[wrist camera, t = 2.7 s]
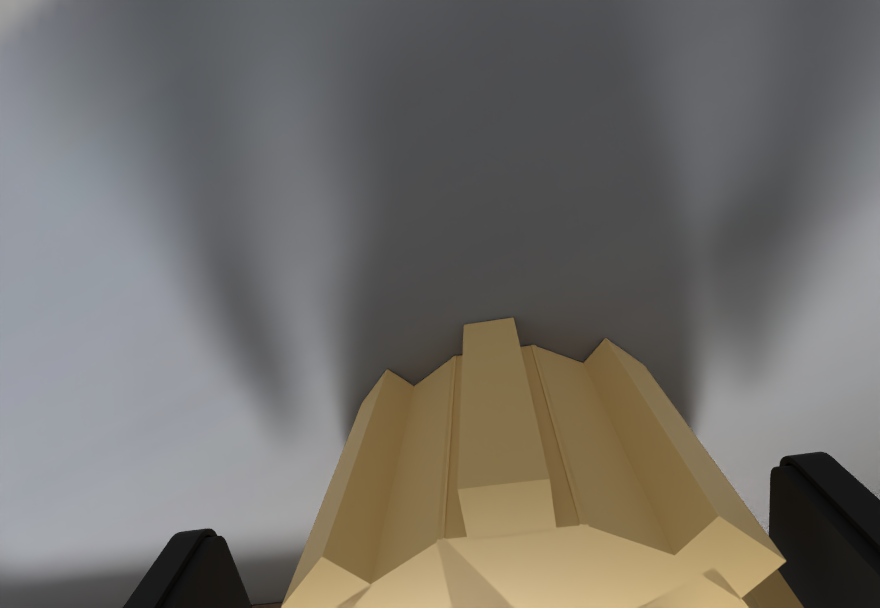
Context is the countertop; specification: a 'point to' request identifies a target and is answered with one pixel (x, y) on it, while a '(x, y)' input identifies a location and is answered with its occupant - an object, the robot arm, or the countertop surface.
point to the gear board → (268, 606)
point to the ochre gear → (531, 494)
